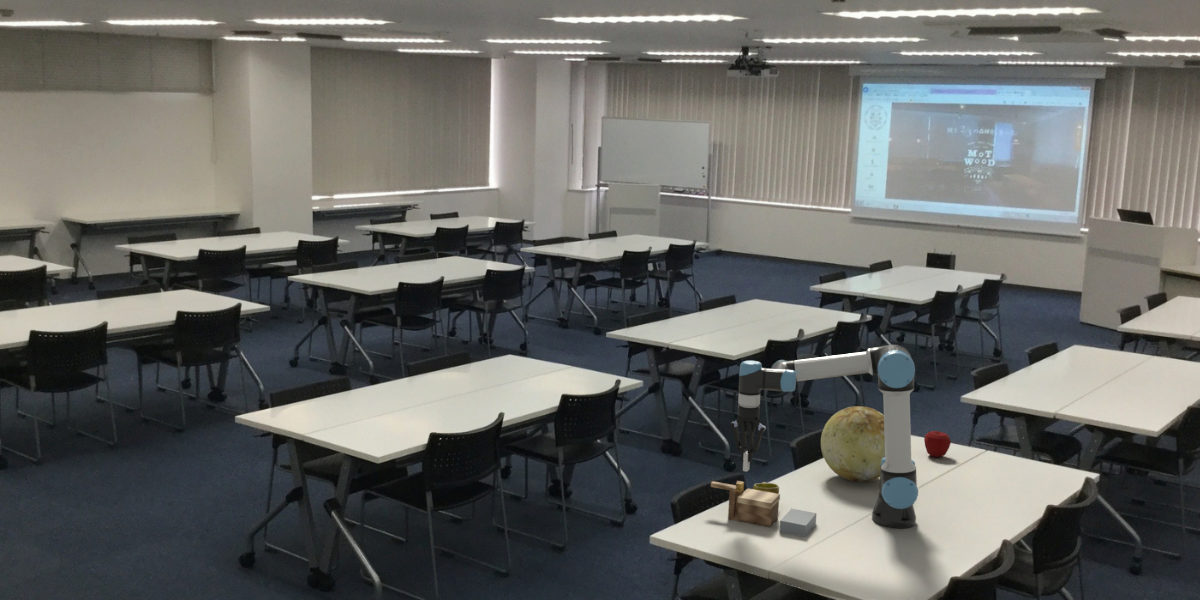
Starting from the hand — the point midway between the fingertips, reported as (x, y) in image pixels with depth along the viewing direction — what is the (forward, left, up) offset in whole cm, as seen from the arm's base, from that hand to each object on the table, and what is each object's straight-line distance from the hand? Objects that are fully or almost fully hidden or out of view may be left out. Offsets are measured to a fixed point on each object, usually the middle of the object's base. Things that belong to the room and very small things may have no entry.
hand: (746, 470), depth 367 cm
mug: (-3, -17, -18) cm, 25 cm away
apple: (-49, -117, -18) cm, 128 cm away
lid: (-5, 0, -10) cm, 12 cm away
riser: (-20, 0, -17) cm, 26 cm away
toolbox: (-3, 0, -17) cm, 18 cm away
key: (+7, 0, -8) cm, 10 cm away
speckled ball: (-26, -65, -18) cm, 72 cm away
